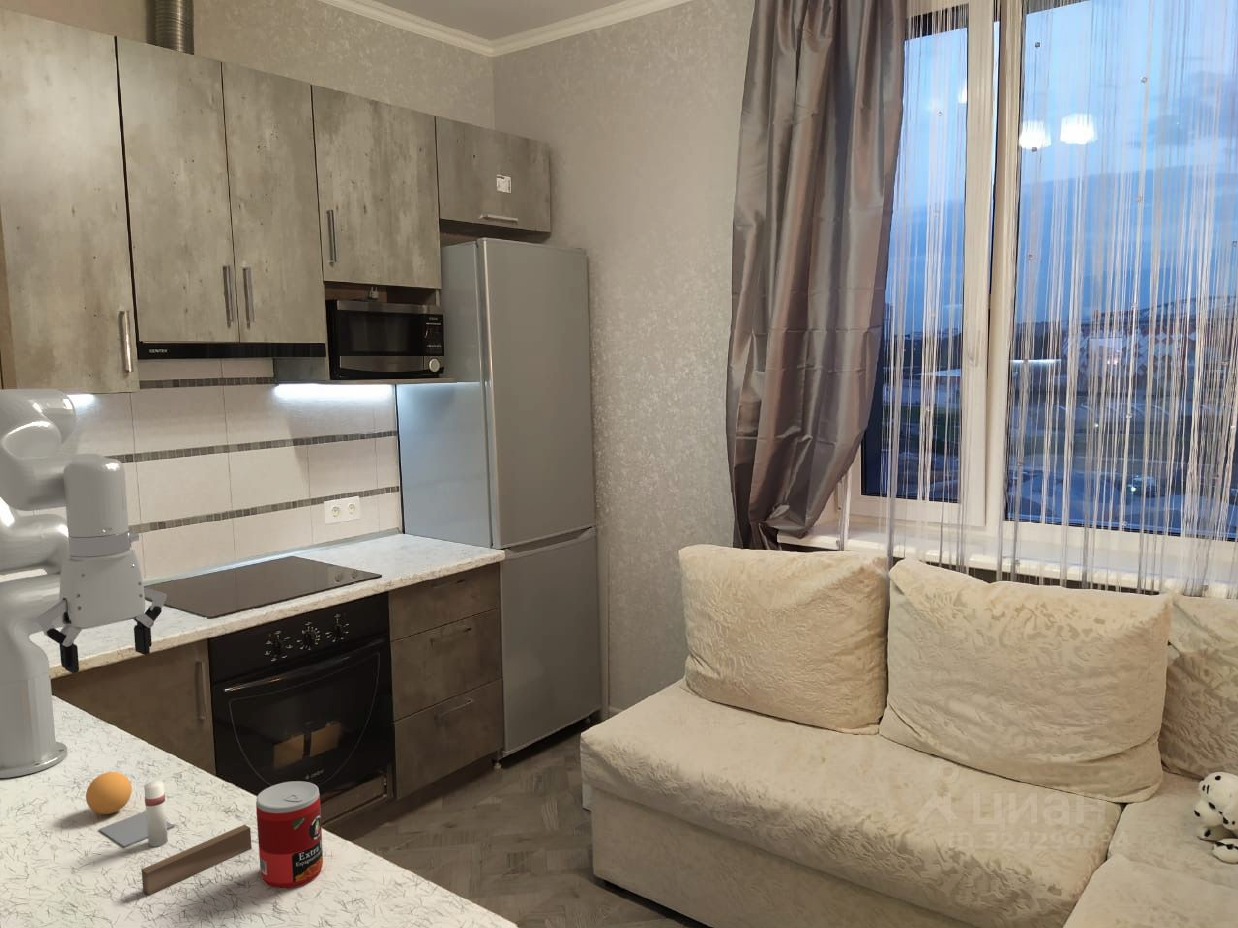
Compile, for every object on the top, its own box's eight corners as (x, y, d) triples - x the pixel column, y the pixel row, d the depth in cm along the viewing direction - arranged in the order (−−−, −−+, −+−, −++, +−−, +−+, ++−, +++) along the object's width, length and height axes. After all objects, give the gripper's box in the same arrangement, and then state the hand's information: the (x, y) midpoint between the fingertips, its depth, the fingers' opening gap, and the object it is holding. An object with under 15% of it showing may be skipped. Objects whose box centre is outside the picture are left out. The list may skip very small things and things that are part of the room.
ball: (80, 813, 136) (77, 775, 135) (122, 798, 140) (119, 761, 140) (98, 825, 132) (95, 786, 131) (140, 809, 137) (137, 771, 136)
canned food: (304, 892, 114) (299, 810, 113) (247, 886, 116) (242, 805, 115) (334, 860, 122) (330, 782, 120) (281, 854, 123) (276, 778, 122)
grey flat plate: (99, 830, 131) (98, 828, 131) (148, 811, 136) (148, 809, 136) (124, 847, 126) (124, 845, 126) (174, 826, 131) (174, 825, 131)
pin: (145, 843, 127) (140, 785, 126) (162, 835, 129) (158, 779, 128) (153, 848, 125) (149, 790, 124) (171, 841, 127) (167, 783, 126)
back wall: (143, 891, 115) (141, 869, 115) (245, 844, 126) (244, 824, 126) (148, 895, 114) (147, 873, 114) (251, 848, 125) (250, 827, 125)
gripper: (149, 533, 137) (156, 642, 139) (20, 552, 124) (30, 672, 126) (173, 538, 133) (180, 651, 135) (42, 559, 119) (52, 684, 121)
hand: (108, 661), depth 130 cm, fingers open, 9 cm apart
